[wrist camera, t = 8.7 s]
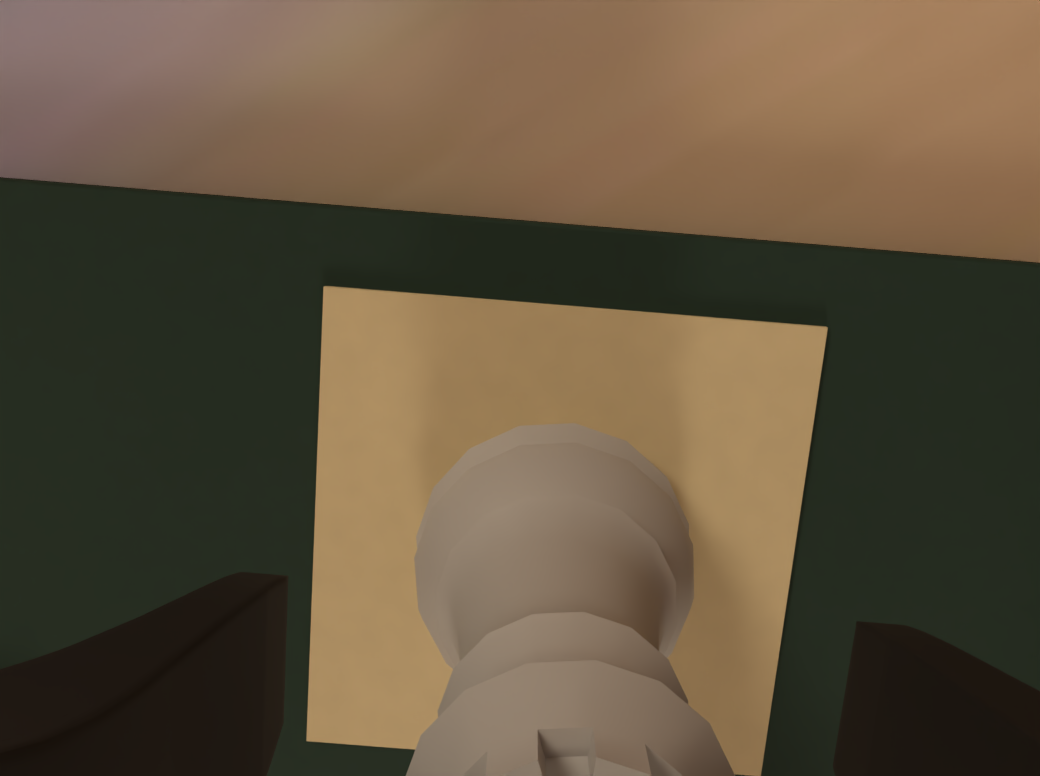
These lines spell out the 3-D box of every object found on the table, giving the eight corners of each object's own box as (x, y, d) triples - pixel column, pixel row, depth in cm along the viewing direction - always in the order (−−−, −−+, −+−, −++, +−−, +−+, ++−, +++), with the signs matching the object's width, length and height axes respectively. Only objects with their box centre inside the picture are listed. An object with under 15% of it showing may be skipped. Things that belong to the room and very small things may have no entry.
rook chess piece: (712, 634, 17) (872, 1043, 9) (457, 692, 17) (396, 1138, 9) (654, 385, 16) (777, 594, 8) (387, 450, 16) (249, 716, 8)
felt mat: (1196, 275, 16) (1221, 279, 15) (1067, 842, 18) (1084, 864, 18) (-40, 173, 16) (-62, 174, 15) (-17, 758, 18) (-35, 778, 17)
